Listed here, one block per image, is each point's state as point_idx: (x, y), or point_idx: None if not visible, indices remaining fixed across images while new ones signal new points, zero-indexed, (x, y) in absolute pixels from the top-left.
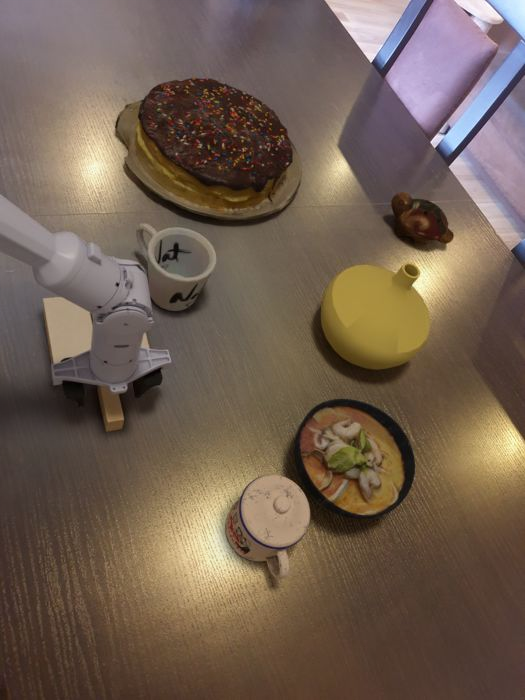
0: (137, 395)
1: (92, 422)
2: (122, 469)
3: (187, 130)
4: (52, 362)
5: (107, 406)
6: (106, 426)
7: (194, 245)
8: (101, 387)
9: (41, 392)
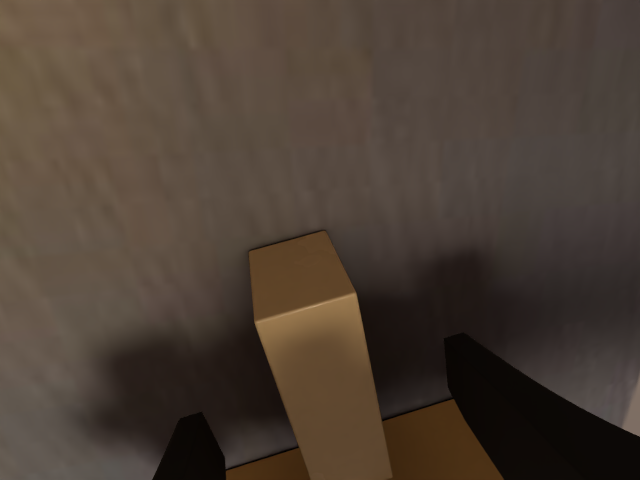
0: (190, 457)
1: (384, 265)
2: (221, 7)
3: None
4: None
5: (355, 375)
6: (338, 259)
7: None
8: (382, 449)
9: (551, 349)
